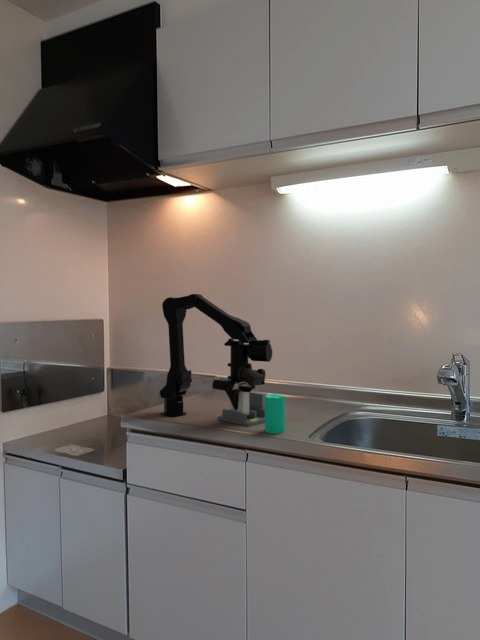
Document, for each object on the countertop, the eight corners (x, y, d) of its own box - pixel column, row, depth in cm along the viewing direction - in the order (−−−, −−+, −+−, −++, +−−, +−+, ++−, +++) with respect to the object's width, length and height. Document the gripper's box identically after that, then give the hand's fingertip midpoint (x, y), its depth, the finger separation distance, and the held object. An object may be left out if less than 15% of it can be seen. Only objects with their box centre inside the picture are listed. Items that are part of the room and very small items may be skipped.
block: (229, 412, 160) (229, 391, 160) (235, 411, 162) (235, 390, 162) (243, 415, 156) (243, 393, 156) (249, 414, 158) (249, 392, 158)
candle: (262, 429, 149) (262, 389, 149) (281, 428, 151) (281, 388, 150) (267, 433, 143) (268, 392, 143) (287, 432, 145) (288, 391, 144)
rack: (217, 419, 162) (217, 394, 162) (248, 412, 173) (249, 389, 172) (249, 426, 152) (249, 400, 152) (280, 418, 163) (280, 394, 163)
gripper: (237, 364, 146) (236, 417, 147) (277, 360, 160) (277, 408, 160) (211, 361, 154) (211, 411, 154) (252, 357, 167) (251, 403, 168)
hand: (239, 408), depth 159 cm, fingers closed on block, 3 cm apart
